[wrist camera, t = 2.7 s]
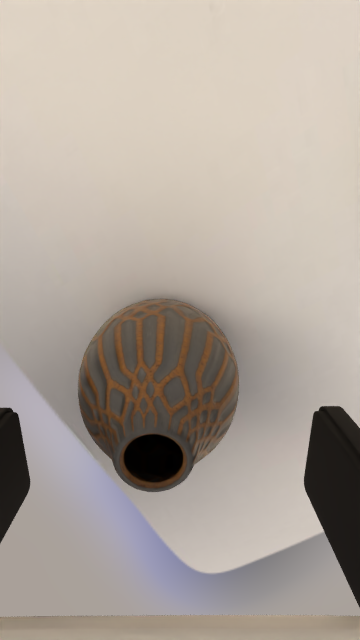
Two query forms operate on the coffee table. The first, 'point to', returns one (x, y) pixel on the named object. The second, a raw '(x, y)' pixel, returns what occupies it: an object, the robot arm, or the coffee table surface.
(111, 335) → the vase
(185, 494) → the coffee table surface
